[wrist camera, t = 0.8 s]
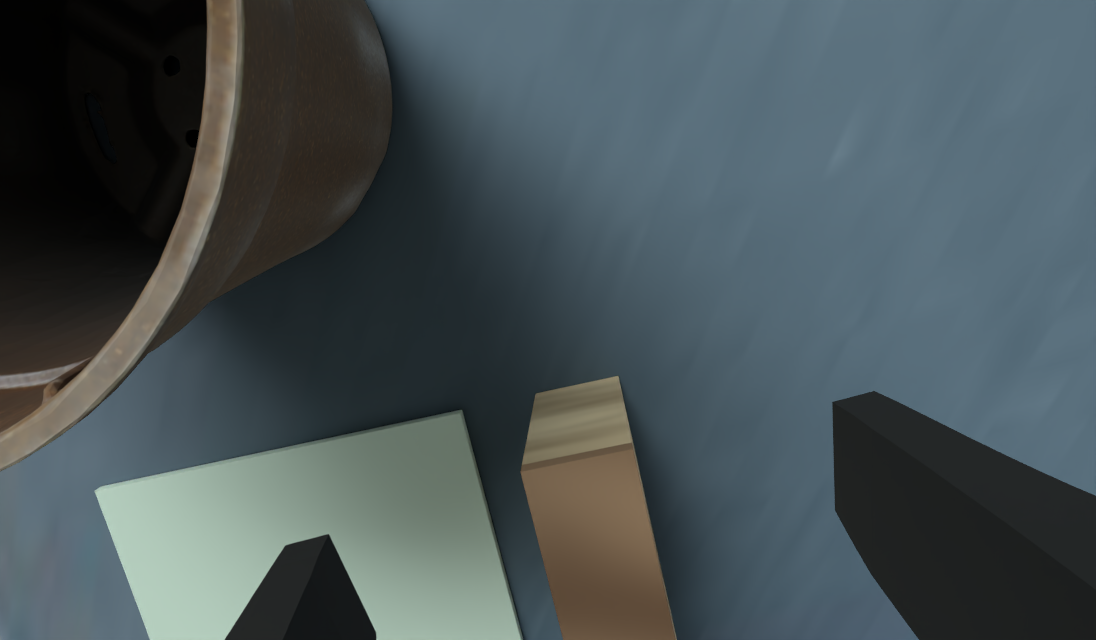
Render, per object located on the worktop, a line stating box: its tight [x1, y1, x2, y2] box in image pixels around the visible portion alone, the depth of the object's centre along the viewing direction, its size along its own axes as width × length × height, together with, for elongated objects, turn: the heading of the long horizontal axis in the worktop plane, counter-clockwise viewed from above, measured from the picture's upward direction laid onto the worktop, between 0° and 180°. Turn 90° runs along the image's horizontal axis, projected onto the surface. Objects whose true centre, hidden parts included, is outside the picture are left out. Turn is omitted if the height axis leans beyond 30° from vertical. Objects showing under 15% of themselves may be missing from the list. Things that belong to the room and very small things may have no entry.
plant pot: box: [0, 0, 393, 471], centre depth 18 cm, size 16×16×16 cm
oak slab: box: [521, 376, 677, 640], centre depth 25 cm, size 10×3×8 cm, turn 13°
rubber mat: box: [95, 410, 523, 640], centre depth 29 cm, size 12×15×1 cm
